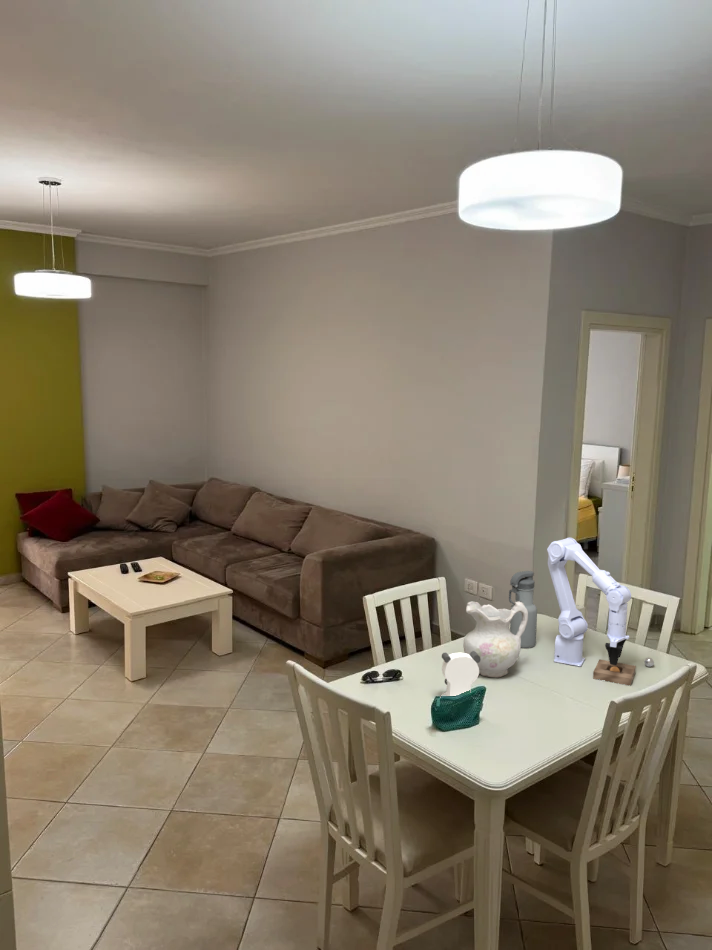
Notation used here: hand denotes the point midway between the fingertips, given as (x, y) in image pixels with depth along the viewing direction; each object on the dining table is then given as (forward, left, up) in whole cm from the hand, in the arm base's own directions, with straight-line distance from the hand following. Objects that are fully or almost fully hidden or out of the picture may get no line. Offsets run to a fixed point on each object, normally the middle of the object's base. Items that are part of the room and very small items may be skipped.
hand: (615, 660), depth 247 cm
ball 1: (0, 0, -4) cm, 4 cm away
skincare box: (-20, +32, -6) cm, 38 cm away
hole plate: (0, 0, -5) cm, 5 cm away
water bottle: (-36, +14, -6) cm, 39 cm away
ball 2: (+10, +14, -4) cm, 17 cm away
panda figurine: (-40, -42, -6) cm, 59 cm away
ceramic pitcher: (-38, -15, -6) cm, 41 cm away
